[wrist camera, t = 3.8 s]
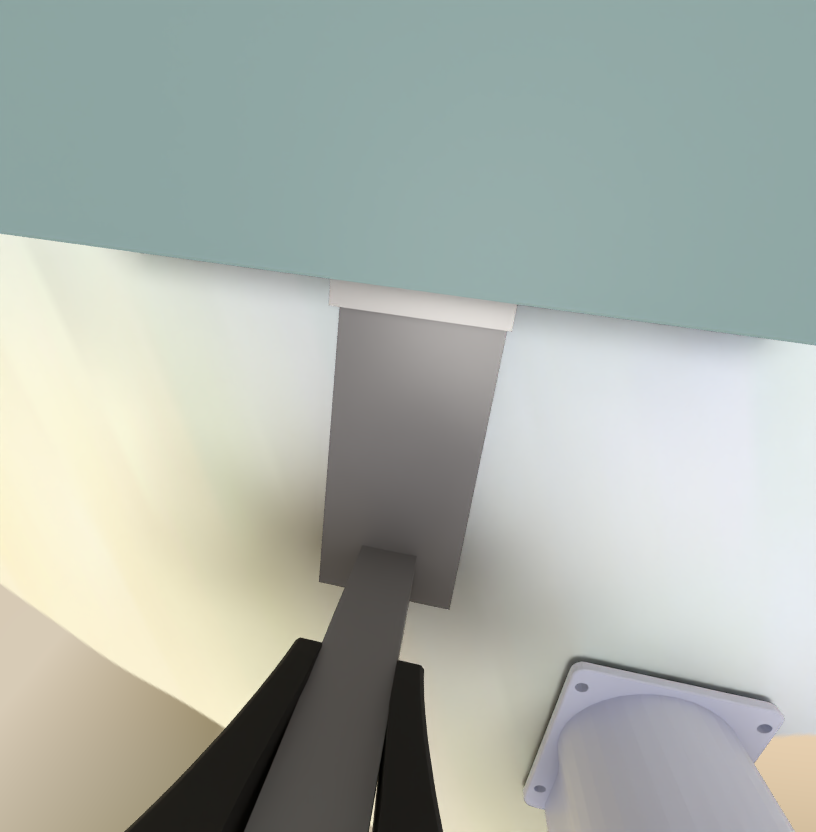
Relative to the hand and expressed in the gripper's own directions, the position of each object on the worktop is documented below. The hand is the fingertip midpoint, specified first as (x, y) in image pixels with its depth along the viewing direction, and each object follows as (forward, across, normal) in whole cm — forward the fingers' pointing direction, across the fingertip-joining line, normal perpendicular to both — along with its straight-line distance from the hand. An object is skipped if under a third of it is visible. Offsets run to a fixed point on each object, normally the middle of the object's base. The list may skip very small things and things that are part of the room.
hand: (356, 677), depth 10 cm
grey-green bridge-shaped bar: (+6, 0, -13) cm, 14 cm away
